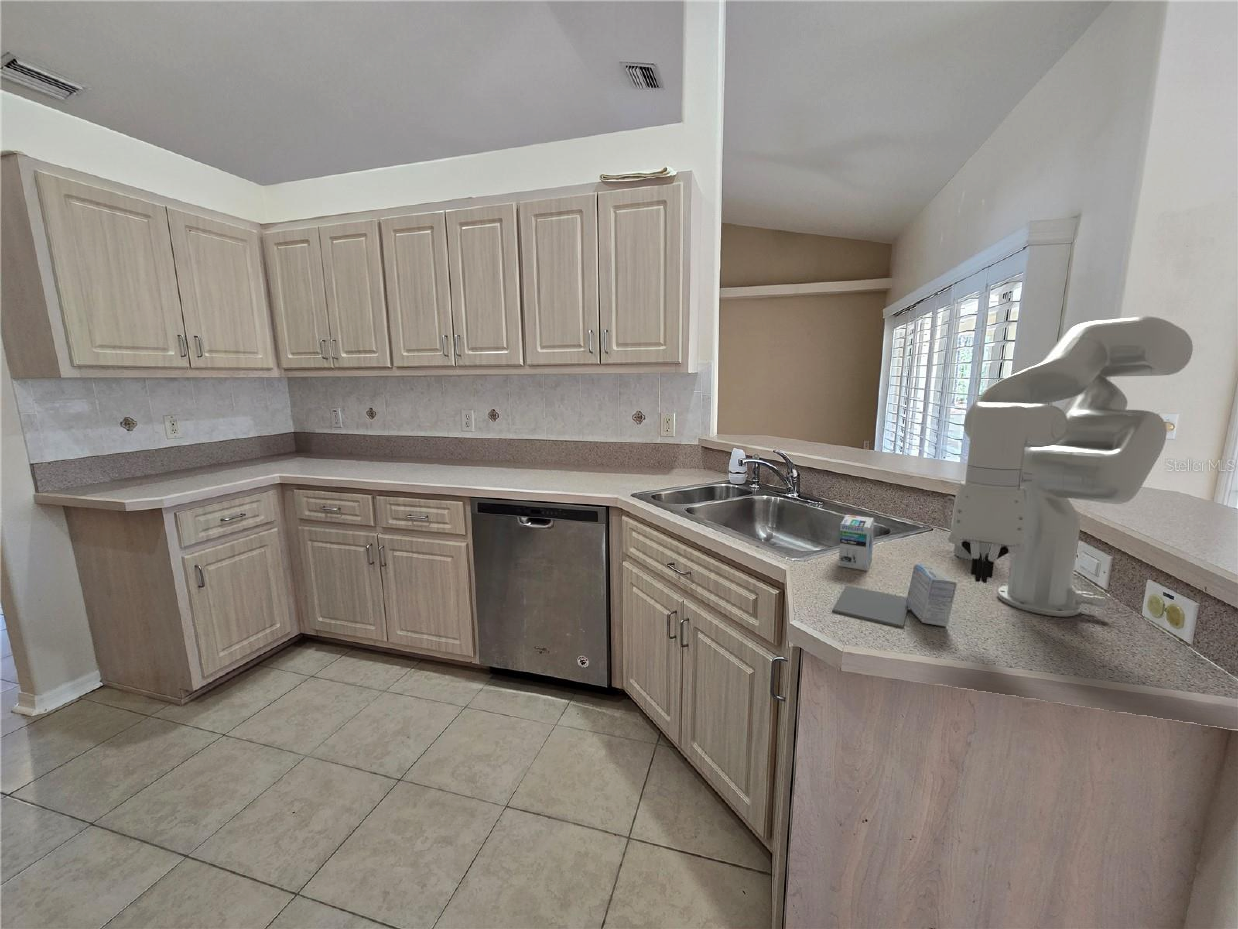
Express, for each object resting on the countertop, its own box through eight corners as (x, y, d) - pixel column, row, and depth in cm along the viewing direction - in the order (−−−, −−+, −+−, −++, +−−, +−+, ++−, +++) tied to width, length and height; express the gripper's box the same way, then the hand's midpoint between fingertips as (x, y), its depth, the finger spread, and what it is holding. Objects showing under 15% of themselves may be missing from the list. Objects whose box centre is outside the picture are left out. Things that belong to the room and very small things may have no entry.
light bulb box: (868, 571, 115) (871, 527, 114) (837, 566, 119) (839, 523, 117) (872, 558, 124) (875, 517, 123) (843, 554, 128) (846, 514, 126)
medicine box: (947, 628, 88) (959, 583, 86) (920, 623, 89) (931, 578, 87) (928, 608, 96) (939, 567, 94) (904, 604, 96) (914, 563, 95)
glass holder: (974, 563, 120) (980, 503, 118) (926, 545, 134) (930, 491, 131) (1002, 559, 122) (1009, 501, 120) (952, 542, 136) (957, 489, 133)
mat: (909, 600, 100) (909, 598, 99) (903, 628, 88) (903, 625, 88) (845, 587, 106) (846, 585, 106) (832, 611, 95) (832, 609, 95)
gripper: (1047, 478, 82) (1033, 583, 85) (941, 470, 91) (931, 565, 93) (1054, 485, 76) (1038, 597, 79) (939, 475, 85) (929, 577, 87)
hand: (980, 579), depth 86 cm, fingers closed
